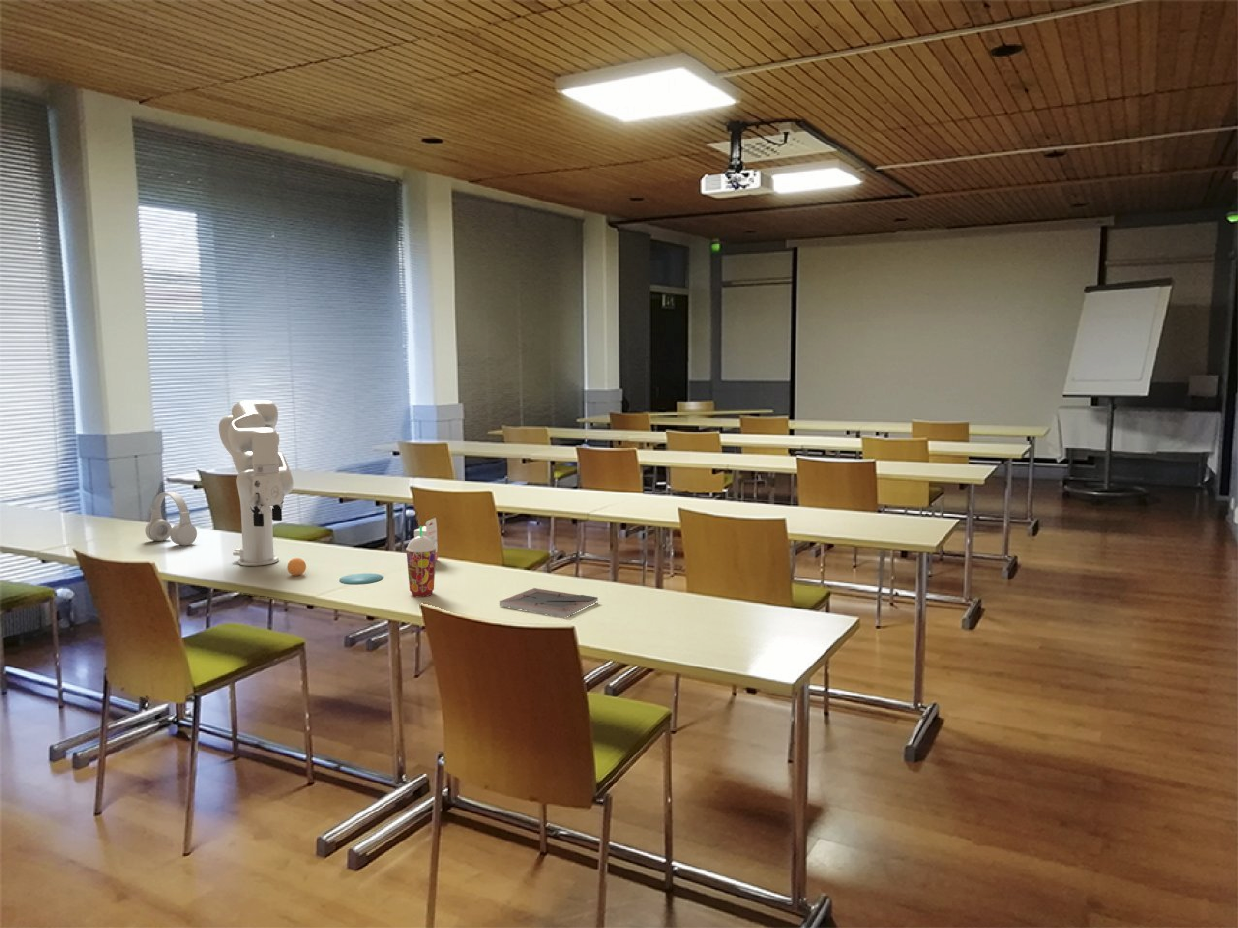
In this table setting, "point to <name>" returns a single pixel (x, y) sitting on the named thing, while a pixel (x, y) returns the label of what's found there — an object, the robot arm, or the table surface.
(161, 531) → the headphones
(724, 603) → the table surface
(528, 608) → the grey flat slab
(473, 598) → the table surface
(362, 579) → the disc
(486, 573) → the table surface
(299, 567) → the ball
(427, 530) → the ink cartridge box
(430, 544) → the smoothie
